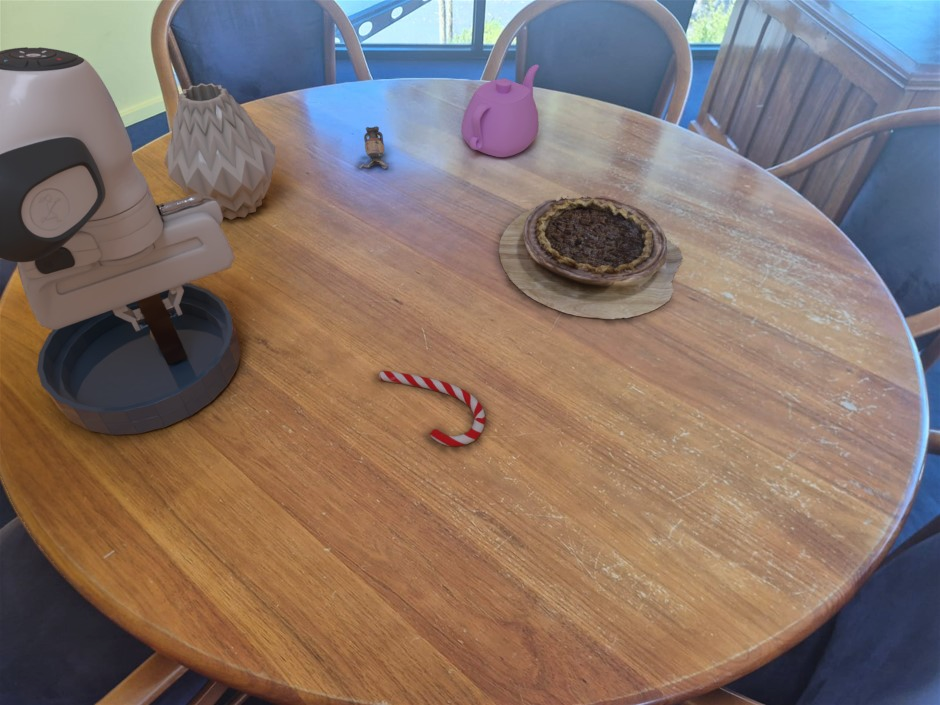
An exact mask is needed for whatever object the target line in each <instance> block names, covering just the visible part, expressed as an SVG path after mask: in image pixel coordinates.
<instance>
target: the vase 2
mask: <svg viewBox="0 0 940 705" xmlns="http://www.w3.org/2000/svg"><path fill="white" fill-rule="evenodd" d="M365 131H366V133H365V134H364V136H363V138H364V150H365V152H366V155H367V157H369V158H370V159H371V160H370V163H369V164H366V163H362V164H361V165H358V167H359V169H361V168H366V169H367V168H368V169H370V168H371V167H372V166H374V165H380V166H381V168H383V169H384V170H386V169H388V167H389V165H390V164H389V162H385V161H383V160H382V158H383V156H384V154H385V143H384V135H383V133H382V132H381V131H380V127H379V126H372V127H369V126H366V127H365ZM385 131H387V130H385Z"/></svg>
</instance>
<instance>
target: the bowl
mask: <svg viewBox="0 0 940 705" xmlns="http://www.w3.org/2000/svg"><path fill="white" fill-rule="evenodd" d="M182 287H183V289H184V292H183V295H182V298H181V301H180V304H179V307H180V309H181V311H182V315H179V316H177V317H174V318H171V321H172V323H173V325H174V326H175V328H176V332H177V334H178V337H179V339H180V341H181V343H182V345H183V348H184V350H185V352H186V354H187V358H185V359H183V360H180V361H178V362H175V363H173V364H170V365H167V363H166V361H165V359H164V357H163V355H162V353H161V350H160V348H159V346H158V344H157V343H156V342H155V341H153V339H152V338H151V336H150V328H149V327H147V328H145V329H142V330H139V331H137V332H136V330H135V328H134V327H133V325H132V323H131V322H128V321H126V320H124V319H122V318H120V317H118V316H115V314H114V312H113V310H110V311H108V312H105V313H102V314H99V315H96V316H94V317H91V318H88V319H85V320H82V321H80V322H77V323H74V324H71V325H68V326H66V327H63V328H60V329H57V330H52V331H50V333H49V334H48V335H47V337H46V339H45V341H44V342H43V344H42V346H41V348H40V350H39V353H38V359H37V365H36V372H37V375H38V378H39V381H40V385H41V387H42V388H43V390H44V391H45V392H46V393H47V395H48V396H49V398H50V399H51V400H52V402H53V403H54V404H55V406H56V407H57V408H58V410H59V412H61V413H62V414H63V415H64V416H65V417H66V418H67V420H69V422H71V423H73V424H74V425H77V426H79V427H81V428H82V429H84V430H87V431H89V432H95V433H100V434H106V435H113V436H117V435H138V434H142V433H143V434H144V433H147V432H150V431H154V430H155V431H156V430H159V429H163V428H166V427H168V426H171V425H173V424H175V423H178V422H181V421H182V420H185V419H187V418H189V417H192V416H193V415H194V414H195V413H197V412H198V411H200V410H202V409H203V408H204V407H206V406H208V405H209V404H210V403H211V402H213V401H214V400H215V399H216V398H217V397H218V396H219V395H220V393H221V392H222V391H224V389H225V388H227V386H228V384H229V383H230V382H231V380H232V378H233V377H234V375H235V373H236V371H237V370H238V368H239V363H240V359H241V353H242V349H241V343H240V336H239V333H238V330H237V327H236V325H235V322H234V318H233V316H232V313H231V311H230V310H229V308H228V307H227V305H226V303H225V302H224V300H223V299H222V298H220V297H219V296H218V295H216V294H215V293H213V292H212V291H211V290H209V289H208V288H207V289H206V288H204V287H202V286H199V285H196V284H194V283H190V282H189V283H186V284H184V285H182ZM159 294H160V297H161V299H162V300H164V299H166V298H168V295H169V290H167V291H164V292H161V293H159ZM126 307H128V308H129V309H131V310H136V309H139V306H138V304H137V302H133V303H130V304H127V305H126Z"/></svg>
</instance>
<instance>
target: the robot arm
mask: <svg viewBox="0 0 940 705" xmlns="http://www.w3.org/2000/svg"><path fill="white" fill-rule="evenodd" d="M118 109H119V108H117V105H116V103H115V101H114V98H113V97H112V95H111V93H110V91H109V89H108V87H107V86H106V84H105V82H104V81H103V79H102V78H101V76H100V75H99V73H98V72H97V70H96V69H95V68H94V67H93V66H92V64H91V63H90V62H89V61H88V60H87V59H85V58H84V57H81V56H79V55H78V54H75V53H74V52H73V53H72V52H69V51H64V50H60V49H56V48H55V49H54V48H48V47H42V46H40V47H27V46H26V47H14V48H8V49H4V50H0V260H4V261H8V262H14V263H17V271H18V275H19V278H20V282H21V285H22V289H23V291H24V294H25V296H26V299H27V301H28V305H29V307H30V309H31V311H32V313H33V315H34V318H35V319H36V321H37V322H38V324H39V326H41V327H42V328H46V329H48V330H52V331H53V330H57V329H60V328H63V327H66V326H68V325H71V324H74V323H77V322H80V321H82V320H85V319H88V318H91V317H94V316H96V315H99V314H102V313H105V312H108V311H110V310H113V312H114V314H115V316H118V317H120V318H122V319H124V320H126V321H128V322H131V323H132V325H133V327H134V328H135V330H136V332H137V331H139V330H142V329H145V328H147V327H149V326H148V324H147V322H146V320H145V318H144V316H143V314H142V312H141V310H140V308H139V309H136V310H131V309H129V308H128V307H126V305H127V304H130V303H133V302H136V301H139V300H141V299H144V298H147V297H150V296H153V295H155V294H158V293H161V292H164V291H167V290H169V295H168V298H166V299H164V300H162V301H163V303H164V305H165V308H166V310H167V312H168V314H169V317H170V319H171V318H174V317H177V316H179V315H182V311H181V309H180V307H179V304H180V301H181V298H182V295H183V292H184V289H183V287H182V285H184V284H186V283H189V284H190V283H192V282H195V281H197V280H200V279H203V278H206V277H209V276H212V275H214V274H217V273H220V272H223V271H227V270H229V269H230V268H231V267H232V266H233V264H234V262H235V259H236V257H235V252H234V251H233V248H232V246H231V244H230V242H229V240H228V238H227V235H226V234H225V232H224V230H223V228H222V227H221V226H222V224H223V221H224V220H223V219H224V218H223V214H222V211H221V208H220V205H219V203H218V201H217V200H216V199H214V198H213V197H210V196H201V194H193V195H190V196H188V195H187V196H186V197H184V198H180V199H179V198H178V199H173V200H170V201H166V202H162V203H160V204H156V201H155V199H154V197H153V196H154V195H153V193H152V191H151V188H150V186H149V183H148V181H147V179H146V177H145V175H144V174H143V172H141V170H140V169H139V168H138V166H137V164H136V163H135V160H134V157H133V145H132V141H131V138H130V135H129V134H128V131H127V128H126V126H125V123H124V121H123V118H122V117H121V114H120V112H119V110H118ZM203 200H204V201H203Z"/></svg>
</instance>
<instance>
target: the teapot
mask: <svg viewBox="0 0 940 705" xmlns="http://www.w3.org/2000/svg"><path fill="white" fill-rule="evenodd" d="M539 67H540V66H539V64H534V65H532V66H531V67H530V68H528V70H527V71H526V74H525V76H524V78H523V81H522V84H521V83H518V82H515V81H512V80H511V79H508V78H497V79H493V80H490V81H488V82H485V83H482V85H480V86H479V87H478V88H477V89H476V90H475V91H474V93H473V94H472V96H471V99H470V100H469V102H468V104H467V106H466V109H465V111H464V114H463V117H462V122H461V130H460V131H461V135H462V138H463V139H464V141H465V142H466V144H467V145H468V146H469V147H470V148H471V150H473V151H478V152H480V153H482V154H486V155H489V156H492V157H497V158H506V157H511V156H514V155H517V154H519V153H521V152H523V151H525V150H526V149H527V148H528V147H529V146H530V145H531V144H532V143H533V142H534V140H535V139H536V137H537V135H538V133H539V126H540V124H539V122H540V121H539V112H538V108H537V104H536V101H535V98H534V80H535V76H536V73H537V72H538V70H539Z"/></svg>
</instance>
